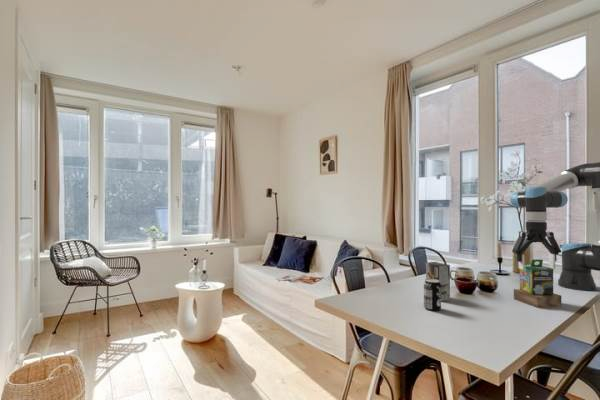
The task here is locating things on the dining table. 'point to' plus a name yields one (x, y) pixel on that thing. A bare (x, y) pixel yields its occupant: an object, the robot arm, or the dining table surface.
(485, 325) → the dining table surface
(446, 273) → the coffee box
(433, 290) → the beverage can
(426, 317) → the dining table surface
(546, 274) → the chalk box
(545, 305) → the walnut block
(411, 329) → the dining table surface
